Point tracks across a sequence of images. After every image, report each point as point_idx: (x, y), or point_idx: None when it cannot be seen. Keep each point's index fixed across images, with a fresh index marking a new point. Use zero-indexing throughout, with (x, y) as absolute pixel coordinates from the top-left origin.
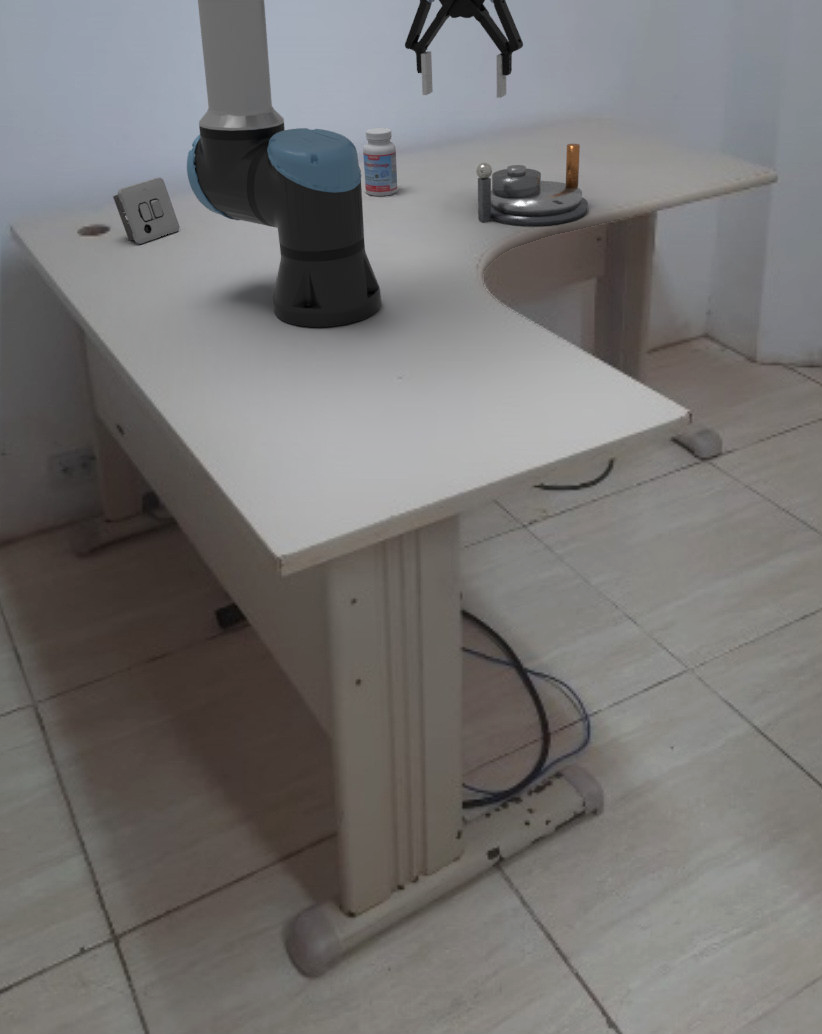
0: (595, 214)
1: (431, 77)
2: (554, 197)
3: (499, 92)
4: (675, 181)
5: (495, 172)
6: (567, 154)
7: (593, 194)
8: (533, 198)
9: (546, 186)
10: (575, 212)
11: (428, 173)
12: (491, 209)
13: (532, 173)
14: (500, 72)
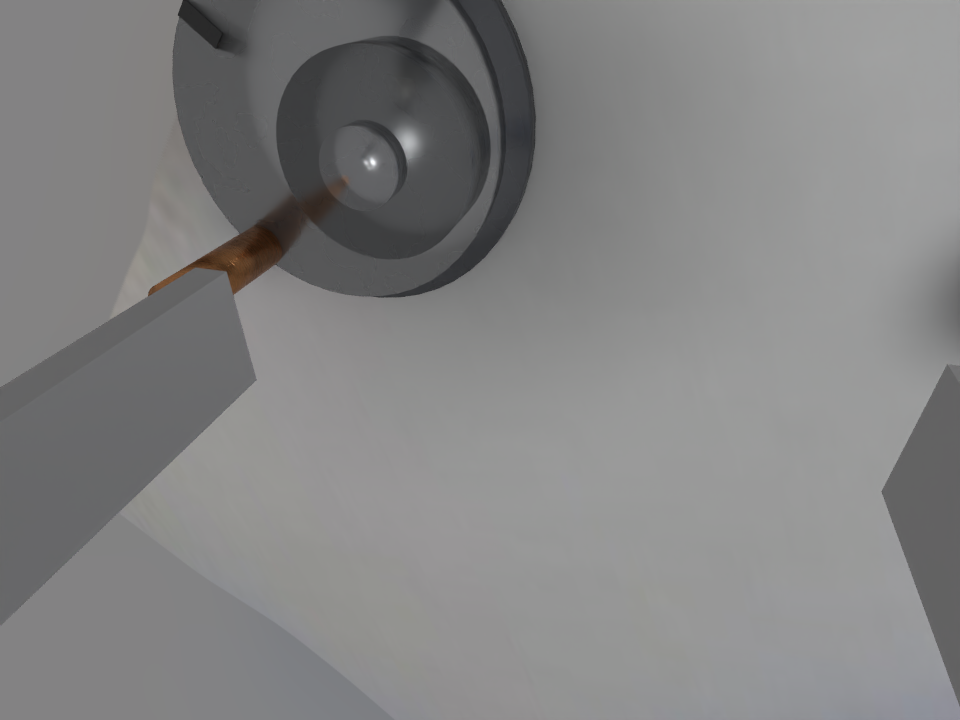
0: None
1: (933, 599)
2: (243, 92)
3: (179, 286)
4: None
5: (464, 178)
6: None
7: (283, 321)
8: (302, 59)
9: None
10: None
11: (856, 509)
12: (469, 8)
13: (318, 186)
14: (29, 375)
